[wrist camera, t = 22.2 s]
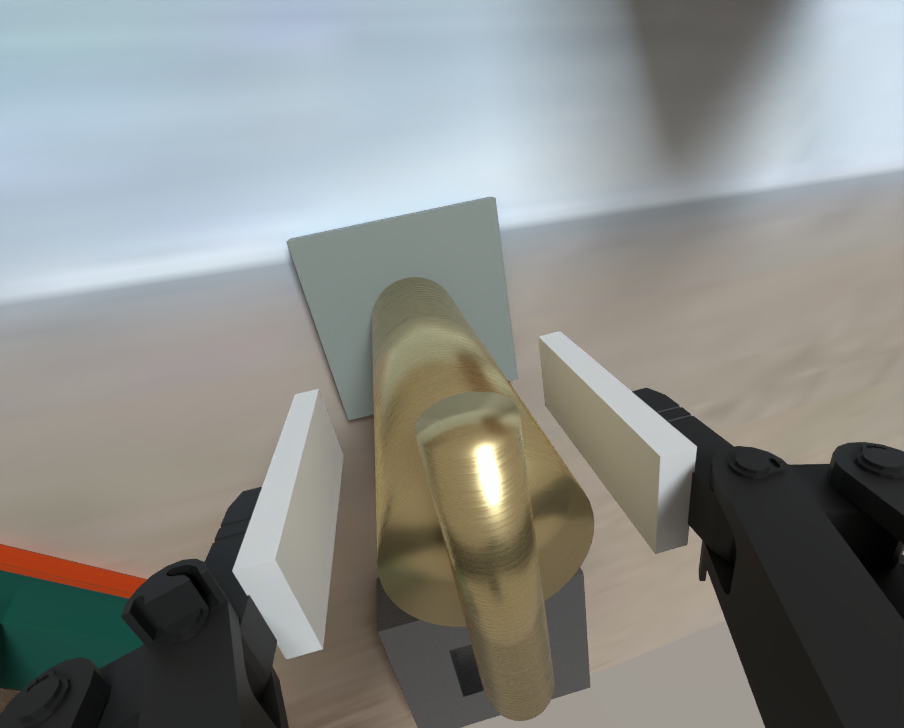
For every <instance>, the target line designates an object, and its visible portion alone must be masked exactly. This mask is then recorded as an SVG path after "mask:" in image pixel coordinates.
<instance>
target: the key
mask: <svg viewBox="0 0 904 728" xmlns="http://www.w3.org/2000/svg"><path fill="white" fill-rule="evenodd" d="M372 348H373V392H374V437H375V481H376V526H377V565H378V574H379V578H380V581H381V584H382V586H383V588H384V590H385V592H386V594H387V595H388V596H389V598H390V599H391V600H392V602H394V603H395V604H396V605H397V606H398V607H399V608H400V609H401V610H403V611H404V612H406V613H407V614H409V615H411V616H413V617H415V618H417V619H419V620H422V621H425V622H428V623H432V624H437V625H441V626H451V627H467V629H468V633H469V637H470V641H471V644H472V648H473V652H474V655H475V659H476V663H477V667H478V670H479V674H480V678H481V682H482V685H483V689H484V693H485V695H486V698H487V700H488V701H489V703H490V705H491V706H492V707H493V708H494V709H495V710H496V711H497V712H498V713H499V714H500V715H502V716H504V717H506V718H508V719H511V720H515V721H525V720H529V719H532V718H534V717H536V716H538V715H539V714H540V713H542V712H543V711H544V710H545V708H546V707H547V706H548V704H549V703H550V700H551V698H552V695H553V691H554V673H553V665H552V658H551V650H550V642H549V635H548V627H547V619H546V612H545V604H544V601H546V600H547V599H549V598H550V597H551V596H553V595H554V594H555V593H556V592H558V591H559V590H560V589H561V588H562V587H563V586H564V585H565V584H566V583H567V582H568V581H569V580H570V579H571V578H572V577H573V576H574V574H575V573H576V572H577V570H578V569H579V568H580V566H581V565H582V563H583V561H584V559H585V557H586V556H587V554H588V551H589V548H590V546H591V543H592V538H593V533H594V517H593V511H592V508H591V505H590V502H589V500H588V498H587V496H586V494H585V493H584V491H583V490H582V488H581V487H580V485H579V484H578V482H577V481H576V479H575V478H574V477H573V475H572V474H571V472H570V471H569V469H568V468H567V466H566V465H565V463H564V462H563V460H562V459H561V457H560V456H559V455H558V453H557V452H556V450H555V449H554V447H553V446H552V444H551V443H550V441H549V440H548V438H547V437H546V436H545V434H544V433H543V431H542V430H541V428H540V427H539V425H538V424H537V422H536V421H535V419H534V418H533V416H532V415H531V414H530V412H529V411H528V409H527V408H526V406H525V405H524V403H523V402H522V400H521V399H520V397H519V396H518V394H517V393H516V392H515V390H514V389H513V387H512V386H511V384H510V383H509V381H508V380H507V378H506V377H505V375H504V374H503V373H502V371H501V370H500V368H499V367H498V365H497V364H496V362H495V361H494V359H493V358H492V356H491V355H490V353H489V352H488V351H487V349H486V348H485V346H484V345H483V343H482V342H481V340H480V339H479V337H478V336H477V334H476V333H475V332H474V330H473V329H472V327H471V326H470V324H469V323H468V321H467V320H466V318H465V317H464V315H463V314H462V312H461V311H460V310H459V308H458V307H457V305H456V304H455V302H454V301H453V299H452V298H451V296H450V295H449V294H448V292H447V291H446V290H445V289H444V288H443V287H442V286H440V285H439V284H437V283H436V282H434V281H432V280H429V279H425V278H420V277H410V278H404V279H401V280H398V281H396V282H394V283H392V284H391V285H389V286H388V287H387V288H385V289H384V290H383V292H382V293H381V294H380V295H379V297H378V298H377V300H376V302H375V305H374V307H373V312H372Z"/></svg>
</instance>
